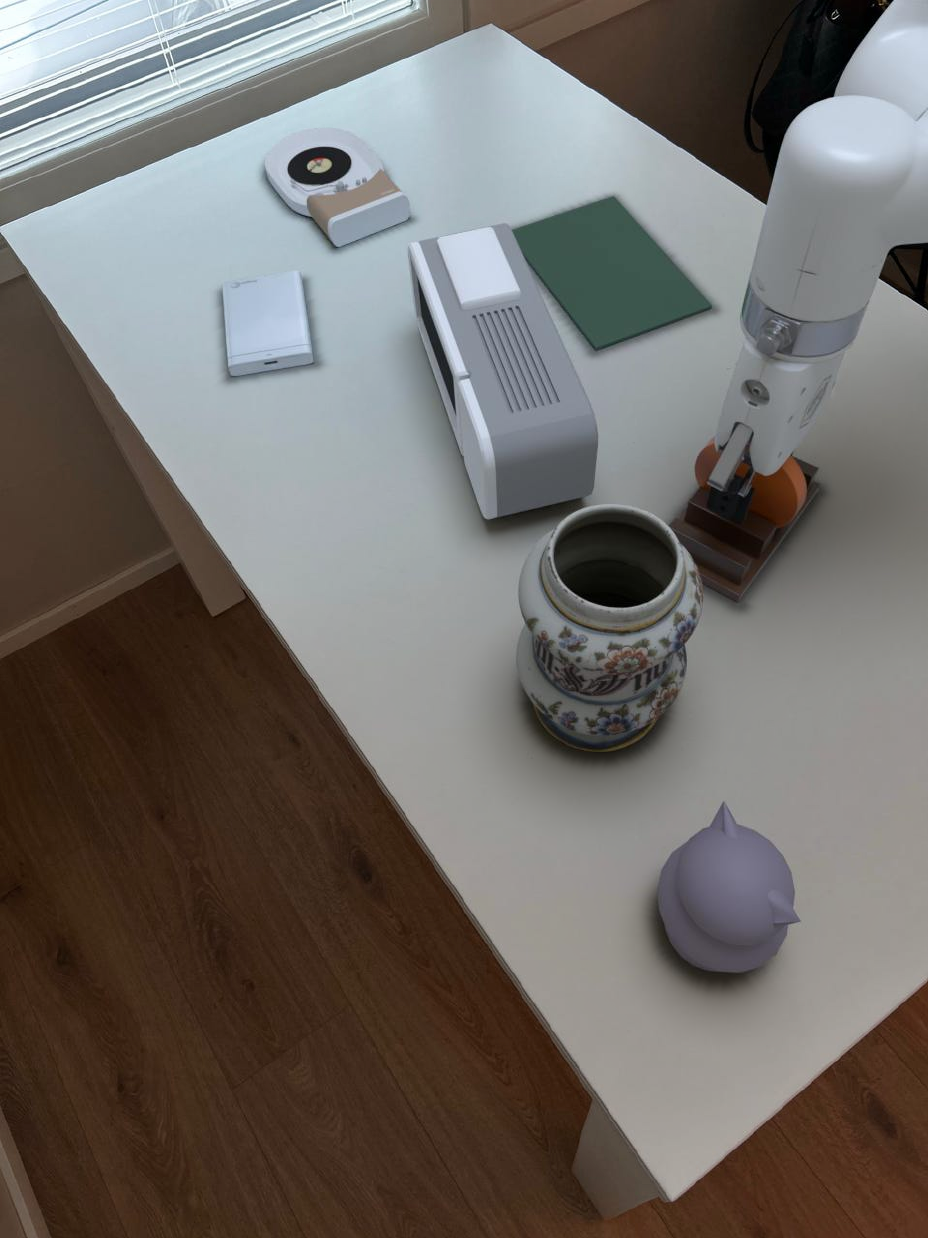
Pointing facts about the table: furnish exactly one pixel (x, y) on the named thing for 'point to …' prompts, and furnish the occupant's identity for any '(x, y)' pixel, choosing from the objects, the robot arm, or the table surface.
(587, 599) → the apothecary jar
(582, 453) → the alarm clock
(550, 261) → the mat
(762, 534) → the rack
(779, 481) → the disc
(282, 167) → the record player
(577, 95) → the table surface
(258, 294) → the hard drive
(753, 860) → the cat figurine
